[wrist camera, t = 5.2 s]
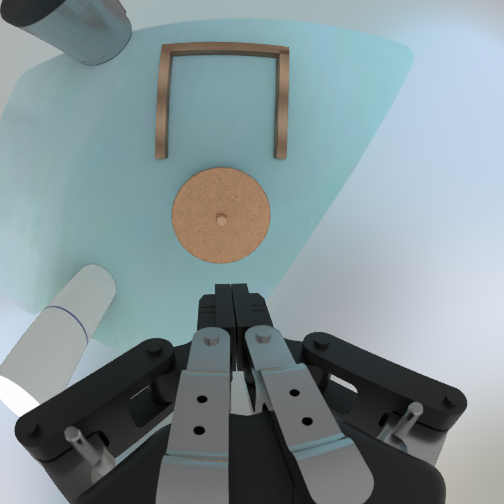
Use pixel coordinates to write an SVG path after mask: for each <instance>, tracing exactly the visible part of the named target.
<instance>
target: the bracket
mask: <svg viewBox="0 0 504 504" xmlns="http://www.w3.org/2000/svg"><path fill="white" fill-rule="evenodd" d="M184 55H245V56H260V57H271V58H277V71H276V108H275V138H274V158H279V159H286V153H287V127H288V91H289V47H284V46H275V45H266V44H254V43H237V42H193V43H175V44H164V45H162V49H161V58H160V68H159V79H158V93H157V111H156V153H155V159H161V158H168V113H169V93H170V78H171V66H172V56H184Z"/></svg>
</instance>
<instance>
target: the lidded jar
mask: <svg viewBox="0 0 504 504" xmlns="http://www.w3.org/2000/svg"><path fill="white" fill-rule="evenodd" d="M172 224H173V228H174V232H175V234H176V236H177V238H178V240H179V241H180V243H181V244H182V246H183V247H184V248H185V249H186V250H187V251H188V252H189V253H191V254H192V255H193V256H195V257H197V258H199V259H201V260H204V261H207V262H211V263H230V262H234V261H237V260H240V259H242V258H244V257H246V256H248V255H249V254H250V253H252V252H253V251H254V250H255V249H256V248H257V247H258V246H259V245H260V244H261V242H262V241H263V239H264V238H265V236H266V233H267V231H268V228H269V224H270V206H269V202H268V199H267V196H266V194H265V192H264V191H263V189H262V187H261V186H260V185H259V184H258V183H257V182H256V181H255V180H254V179H253V178H252V177H251V176H249V175H247V174H246V173H244V172H242V171H239V170H237V169H233V168H227V167H215V168H210V169H206V170H204V171H201V172H199V173H197V174H196V175H194V176H192V177H191V178H190V179H189V180H188V181H187V182H186V183H185V184H184V185H183V186H182V187H181V189H180V190H179V192H178V194H177V195H176V198H175V201H174V204H173V208H172Z"/></svg>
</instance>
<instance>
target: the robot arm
mask: <svg viewBox="0 0 504 504" xmlns="http://www.w3.org/2000/svg"><path fill="white" fill-rule="evenodd" d="M0 13H1V17H2V18H3V19H4V20H5V21H6V22H8V23H10V24H12V25H14V26H16V27H18V28H20V29H22V30H24V31H26V32H28V33H30V34H32V35H34V36H36V37H38V38H40V39H41V40H44V41H45V42H47V43H49V44H51V45H53V46H54V47H56V48H58V49H59V50H61V51H63V52H65V53H66V54H68V55H70V56H71V57H73V58H75V59H77V60H78V61H80V62H82V63H84V64H86V65H98V64H101V63H104V62H106V61H108V60H110V59H111V58H113V57H114V56H116V55H117V54H118V53H119V52H120V51H121V50H122V49H123V48H124V47H125V45H126V44H127V42H128V40H129V38H130V35H131V31H132V27H131V23H130V21H129V19H128V18H127V16H126V10H125V9H124V7H123V6H122V5H121V3H120V1H119V0H2V3H1V8H0ZM236 363H237V370H238V371H243V372H244V387H245V391H246V395H247V398H248V402H249V406H250V409H251V413H252V415H250V416H244V415H237V414H231V382H232V379H233V377H232V371H236ZM331 374H332V375H334V376H336V377H338V378H340V379H342V380H344V381H346V382H348V383H350V384H352V385H353V386H354V387H355V388H356V389H357V392H358V393H356V392H354V391H352V390H350V389H348V388H346V387H344V386H342V385H340V384H338V383H336V382H334V381H332V380H330V377H331ZM145 387H147V388H145ZM144 388H145V389H144ZM143 389H144V390H143ZM141 390H143V391H141ZM140 391H141V392H140ZM138 392H140V393H139V394H137V393H138ZM136 394H137V395H136ZM134 395H136V396H134ZM133 396H134V397H133ZM132 397H133V398H132ZM130 398H132V399H130ZM466 407H467V399H466V397H465V395H464V394H463V393H462V392H461V391H460V390H459V389H457V388H454V387H452V386H449V385H446V384H444V383H441V382H439V381H437V380H434V379H431V378H429V377H427V376H424V375H422V374H419V373H417V372H414V371H412V370H410V369H407V368H405V367H403V366H400V365H398V364H395V363H393V362H391V361H388V360H386V359H384V358H382V357H379V356H377V355H375V354H372V353H370V352H368V351H365V350H363V349H361V348H359V347H357V346H354V345H352V344H350V343H348V342H346V341H343V340H341V339H339V338H337V337H334V336H333V335H330V334H327V333H324V332H314V333H310V334H308V335H307V336H306V337H305V338H304V340H303V342H301V341H293V340H288V339H285V338H283V337H282V335H281V333H280V332H279V330H277V329H276V328H274V326H273V323H272V321H271V318H270V315H269V312H268V309H267V306H266V303H265V300H264V298H263V297H262V296H261V295H259V294H258V293H249V291H248V287H247V284H246V283H244V284H231V287H230V284H215V294H208V295H203V296H202V298H201V299H200V300H199V310H198V324H197V332H196V333H195V334H194V336H193V339H192V341H190V342H189V343H187V344H184V345H180V346H176V347H173V345H172V344H171V343H170V342H169V341H167V340H165V339H161V338H152V339H148V340H145V341H143V342H142V343H140V344H138V345H137V346H135V347H134V348H132V349H130V350H129V351H127V352H126V353H124V354H123V355H121V356H119V357H118V358H116V359H115V360H113V361H111V362H110V363H108V364H106V365H105V366H103V367H102V368H100V369H98V370H97V371H95V372H93V373H92V374H90V375H89V376H87V377H85V378H84V379H82V380H80V381H79V382H77V383H75V384H74V385H72V386H71V387H69V388H67V389H66V390H64V391H62V392H61V393H59V394H57V395H56V396H54V397H52V398H51V399H49V400H47V401H46V402H44V403H42V404H41V405H39V406H37V407H35V408H34V409H32V410H30V411H29V412H27V413H25V414H24V415H22V416H21V417H20V418H19V419H18V420H17V422H16V425H15V436H16V438H17V440H18V441H19V442H20V443H21V444H22V445H23V446H24V447H25V449H27V451H28V452H29V453H30V454H31V456H32V457H33V458H34V459H35V460H36V461H37V462H38V463H40V464H41V465H42V466H43V467H44V469H45V470H46V472H47V473H48V475H49V476H50V478H51V479H52V480H53V482H54V483H55V485H56V486H57V487H58V489H59V490H60V491H61V493H62V494H63V495H64V497H65V498H66V499H67V500H68V501H69V503H70V504H445V499H446V486H445V482H444V479H443V477H442V475H441V473H440V472H439V471H438V470H437V469H436V468H435V467H434V466H435V464H436V462H437V459H438V456H439V454H440V452H441V449H442V446H443V444H444V441H445V438H446V435H447V432H448V431H449V430H450V429H451V427H452V426H453V425H454V424H455V422H456V421H457V420H458V419H459V417H460V416H461V415H462V414H463V412H464V411H465V409H466ZM173 411H174V412H173ZM172 412H173V418H172V423H171V424H169V425H167V426H165V427H163V428H161V429H159V430H158V431H156V432H155V433H154V434H153V435H152V436H150V437H149V438H148V439H147V440H146V441H145V442H144V443H143V444H141V445H140V446H139V447H138V448H137V449H136V450H135V451H134V452H132V453H131V454H130V455H129V456H128V457H126V458H125V459H124V460H123V461H122V462H120V463H119V464H118V465H117V466H116V467H115V458H116V457H118V456H119V455H120V454H122V453H123V452H124V451H125V450H127V449H128V448H129V447H130V446H132V445H133V444H134V443H136V442H137V441H138V440H139V439H141V438H142V437H143V436H144V435H145V434H147V433H148V432H149V431H151V430H152V429H153V428H154V427H155V426H157V425H158V424H159V423H160V422H161V421H163V420H164V419H165V418H166V417H167V416H168V415H169V414H171V413H172Z"/></svg>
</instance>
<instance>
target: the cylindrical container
mask: <svg viewBox="0 0 504 504" xmlns="http://www.w3.org/2000/svg"><path fill="white" fill-rule="evenodd" d="M115 294H116V285H115V281H114V279H113V277H112V276H111V274H110V273H109V272H108V271H107V270H106V269H104V268H103V267H101V266H98V265H94V264H90V265H86V266H84V267H83V268H82V269H81V270H80V271H79V272H78V273H77V274H76V275H75V276H74V277H73V278H72V279H71V280H70V281H69V282H68V283H67V284H66V285H65V287H64V288H63V289H62V290H61V291H60V292H59V293H58V294H57V295H56V296H55V297H54V299H53V300H52V301H51V302H50V303H49V304H48V305H47V306H46V308H45V309H44V310H43V311H42V312H41V313H40V315H39V316H38V317H37V318H36V320H35V321H34V322H33V323H32V324H31V326H30V327H29V328H28V329H27V331H26V332H25V333H24V334H23V336H22V337H21V338H20V340H19V341H18V342H17V344H16V345H15V346H14V348H13V349H12V350H11V352H10V353H9V354H8V356H7V357H6V358H5V360H4V361H3V363H2V364H1V366H0V399H1V400H2V401H3V402H4V403H5V405H6V406H7V407H8V408H9V409H11V410H12V411H13V412H14V413H15V414H17V415H18V416H19V417H21V416H22V415H24V414H25V413H27V412H29V411H30V410H32V409H34V408H35V407H37V406H39V405H41V404H42V403H44V402H46V401H47V400H49V399H51V398H52V397H54V396H56V395H57V394H59V393H61V392H62V391H64V390H66V388H67V385H68V383H69V381H70V379H71V377H72V375H73V373H74V371H75V369H76V366H77V364H78V362H79V361H80V358H81V356H82V355H83V352H84V351H85V349H86V347H87V345H88V343H89V341H90V339H91V338H92V336H93V334H94V332H95V330H96V328H97V326H98V325H99V323H100V321H101V319H102V318H103V316H104V314H105V312H106V311H107V309H108V307H109V305H110V304H111V302H112V300H113V299H114V297H115Z"/></svg>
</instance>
